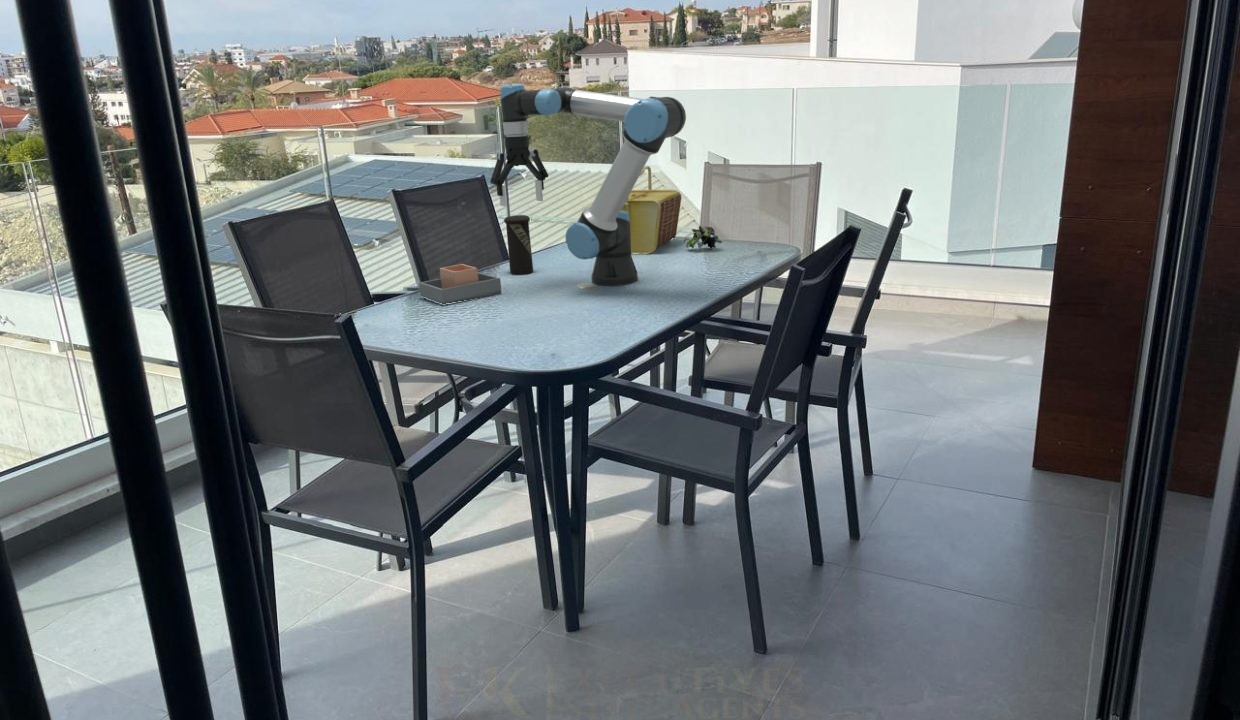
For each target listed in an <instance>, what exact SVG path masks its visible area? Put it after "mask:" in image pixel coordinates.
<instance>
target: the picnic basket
mask: <svg viewBox="0 0 1240 720" xmlns="http://www.w3.org/2000/svg"><path fill="white" fill-rule="evenodd" d="M646 170H647V181H648V182H647V184H648V185H647V186H648V189H632V190H631V192H630V194H629V196H628V198H627V200H626V202H625V203H624V205H623V207H622V209H621V211H626V212H628V214H629V220H630V236H631V253H651V254H652V253H654V252H655V251H656V250H657V249H658V248H659V249H660V247H662V246H664V245H666V244H667V243H669V242H668V241H670V240H671V239H672V238H674V239H675V238H676V237H677V231H678V224H679V218H680V210H681V204H682V203H681V202H682V193H680V191H678V190H676V189H652V169H651V167H650V166H649V165H645V166H644V168H643V170H642V172H641V174H640V175H639V177H641V176H642V175H643V174H644V173H645V171H646ZM670 242H671V241H670Z"/></svg>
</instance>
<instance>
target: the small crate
mask: <svg viewBox="0 0 1240 720" xmlns="http://www.w3.org/2000/svg"><path fill="white" fill-rule="evenodd" d="M478 271H479V270H478V268H477V267H475V266H470V265H468V264H464V263H460V264H454V265H451V266H444V267H440V268H439V276H440V279H441V285H442V289H446V288H451V287H456V286H461V285H466V284H471V283H476V282H479V280H478Z"/></svg>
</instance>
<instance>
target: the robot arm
mask: <svg viewBox="0 0 1240 720" xmlns="http://www.w3.org/2000/svg"><path fill="white" fill-rule="evenodd" d="M499 92H500V105H501V113H502V124H503V135H504V138H503V139H504V148H505V153H504V152H498V153H497V154H496V162H495V166H494V169H493V172H492V175H491V179H490V184H492V185H495V186H496V194H497V196H498V197H499V204H500V206H501V207H508V203H507V202H508V201H507V192H506V191H507V190H506V185H505V184H504V183H505V181H506V179H507V178H508V176H509V174H510V172H511V171H512V169H513V168H514V167H520V166H525V167H526V168H527V169H528V170H529V172H530V173H531V174H532V175H533V176H534V177H535V180H534V184H535V185H534V186H535V187H534V188H535V196H536V198H535V199H536V202H537V201H538V202H543V201H544V197H543V191H544V189H545V186H544V181H545V180H546V178H548V177H549V174H548V171H547V170H546V167H545V166H544V164H543V162H542V160H541V158H540V156H539V150H538V149H534V148H532V149H530V148H529V147H530V141H529V136H528V135H527V134H529V129H528V128H529V127H528V116H551V115H556V114H571V115H577V116H578V115H579V116H584V117H585V116H586V117H589V118H596V119H604V120H609V121H616V122H623V124H624V130H623V132H622V136H623V140H624V142H622V143H623V144H622V145H621V148H620V149H619V151H618V153H617V155H616V157H615V159H614V162H613V163H612V165H611V167H610V169H609V170H608V173H607V175H606V177H605V179H604V181H603V182H602V184H601V186H600V188H599V191H598V192H597V194H596V196H595V197H594V199H593V201H592V204H591V206H589V207H588V206H587V207H585V208H584V209H583V211H582V212H581V214H580V216H579V218H578V220H577V222H574V223H572V224H571V225H570V226H569V227H568V228H567V229H566V232H565V243H566V244H567V248H568V250H569V252H570V253H571V254H572V255H573V256H574V257H575V258H577V259H580V260H591V259H592V260H593V259H594V258H595V261H594V265H593V270H592V274H591V282H592V283H593V284H595V285H599V286H601V285H602V286H621V285H622V286H623V285H627V284H632V283H635V282H637V281H638V280H639V277H638V276H639V275H638V270H637V268H636V264H635V263H634V259H633V257H632V254H631V236H630V220H629V214H628V212H626V211H621V209H622V207H623V205H624V203H625V202H626V200H627V198H628V196H629V194H630V192H631V190H634V189H633V188H634V187H635V185H636V183H637V181H638V179H639V177H640V176H639V175H640V174H641V172H642V170H643V168H644V167H645V166H646V164H647V162H648V160H649V159H650V157H651V156H652V155H655V154H658V152H659V151H660V149H661V148H662V145H663V143H664V142H665V140H666V139H668V138H672V137H674V136H676V135H678V134H679V133H680V132H681V131H682V130H683V128H684V126H685V123H686V121H687V120H686V119H687V113H686V109H685V108H684V106H683V104H682V103H681V102H680V101H679V100H678V99H676V98H674V97H671V96H662V97H660V96H659V97H658V96H649V97H647V98H641V97H639V98H638V97H634V96H633V97H631V96H625V95H617V94H610V93H602V92H595V91H589V90H580V89H576V88H573V87H569V86H568V87H567V86H563V87H559V88H557V87H556V88H543V89H529V90H526V89H525V86H524V84H523V83H516V84H515V83H513V84H502V85H501V86H500V91H499ZM529 149H530V150H529ZM530 157H531V158H532V160H533V161H531V160H530ZM506 159H507V161H506V162H505V160H506ZM504 163H505V164H504ZM533 163H534V164H533ZM503 166H504V167H503ZM503 184H504V185H503Z"/></svg>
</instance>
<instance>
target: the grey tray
mask: <svg viewBox="0 0 1240 720" xmlns="http://www.w3.org/2000/svg"><path fill="white" fill-rule="evenodd" d="M478 280H479V282H476V283H471V284H466V285H461V286H456V287H451V288H446V289H442V285H441V278H436V279H435V278H434V279H430V280H426V281H421V282H420V281H419V282H418V284H419V285H418V286H419V292H420V293H419V294H420V295H419V296H420V297H421V296H423V297H426V298H428V299H431V300H434V301H436V302H439V303H442V304H446V303H452V302H458V301H464V300H469V301H471V300H470V299H474V300H476V299H475V298H478V299H481V298H480V297H483V298H487V297H486V296H488V297H491V295H492V296H495V295H496V294H497V295H501V293H502V284H501V277H497V276H494V275H489V274H485V273H483V272H480V271H479V272H478ZM502 294H503V293H502ZM497 295H496V296H497ZM464 302H465V301H464Z"/></svg>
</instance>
